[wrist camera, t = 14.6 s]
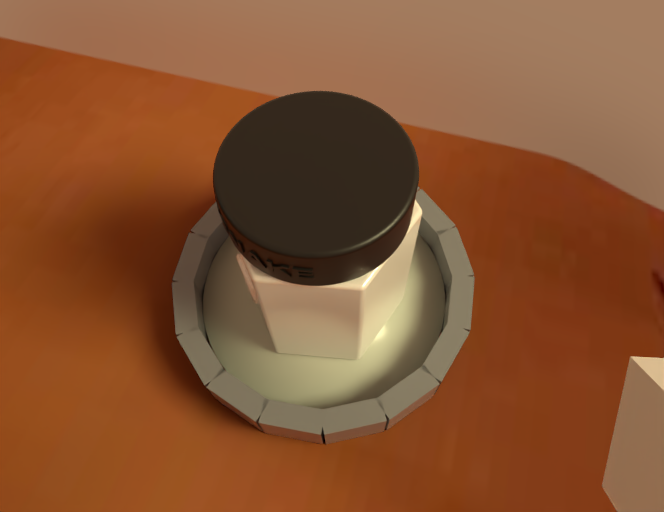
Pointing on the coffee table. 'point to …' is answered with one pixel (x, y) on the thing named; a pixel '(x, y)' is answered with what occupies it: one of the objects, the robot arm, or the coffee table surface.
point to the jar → (320, 218)
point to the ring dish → (312, 371)
